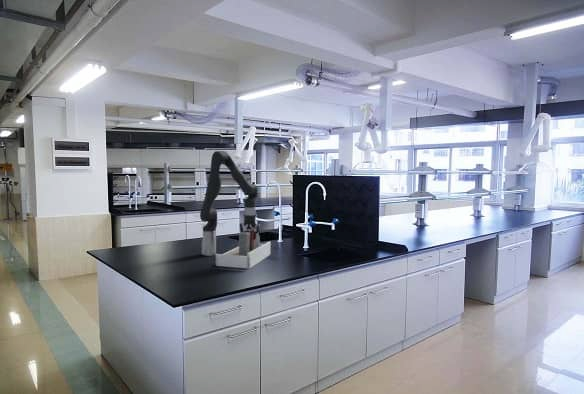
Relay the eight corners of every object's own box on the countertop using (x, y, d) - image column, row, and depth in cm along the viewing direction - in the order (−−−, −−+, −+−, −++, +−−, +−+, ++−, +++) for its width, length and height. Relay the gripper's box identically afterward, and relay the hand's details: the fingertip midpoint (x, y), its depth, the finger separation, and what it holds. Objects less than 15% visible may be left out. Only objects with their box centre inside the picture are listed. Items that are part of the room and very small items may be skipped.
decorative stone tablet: (247, 232, 229) (261, 229, 259) (237, 231, 231) (252, 228, 260) (246, 263, 229) (260, 256, 258) (236, 262, 230) (251, 256, 260)
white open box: (215, 267, 230) (215, 251, 229) (241, 253, 268) (241, 239, 268) (249, 269, 224) (249, 253, 223) (270, 255, 262) (270, 241, 262)
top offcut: (229, 257, 242) (229, 254, 242) (241, 253, 256) (241, 250, 255) (237, 258, 239) (237, 255, 239) (248, 253, 253) (248, 251, 253)
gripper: (237, 214, 241) (237, 239, 242) (258, 215, 237) (257, 241, 239) (242, 213, 248) (241, 237, 250) (262, 214, 245) (261, 239, 246)
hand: (249, 239), depth 244 cm, fingers closed on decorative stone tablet, 6 cm apart
